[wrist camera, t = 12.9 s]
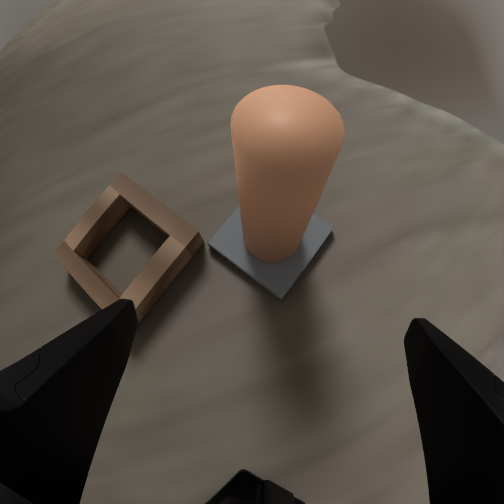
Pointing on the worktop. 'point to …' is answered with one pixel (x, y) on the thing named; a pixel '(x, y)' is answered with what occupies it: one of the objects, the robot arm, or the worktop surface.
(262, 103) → the peach rounded cylinder
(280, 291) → the slate rubber pad
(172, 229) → the walnut socket block
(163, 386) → the worktop surface
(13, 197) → the worktop surface
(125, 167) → the worktop surface
